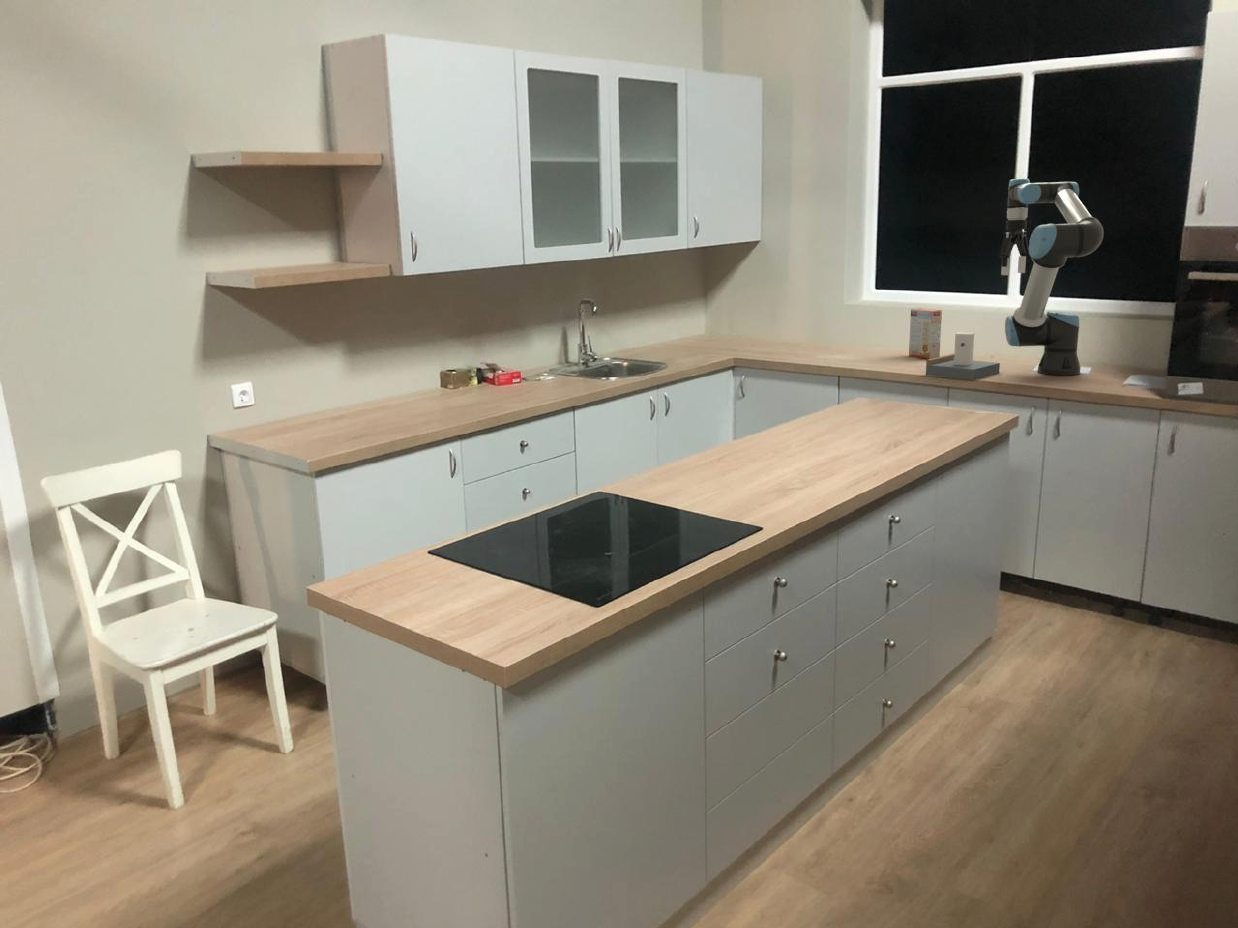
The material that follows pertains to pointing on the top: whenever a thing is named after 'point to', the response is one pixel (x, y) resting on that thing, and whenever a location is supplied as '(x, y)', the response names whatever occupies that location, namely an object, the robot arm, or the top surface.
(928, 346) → the cracker box
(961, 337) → the cabinet block
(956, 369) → the riser
